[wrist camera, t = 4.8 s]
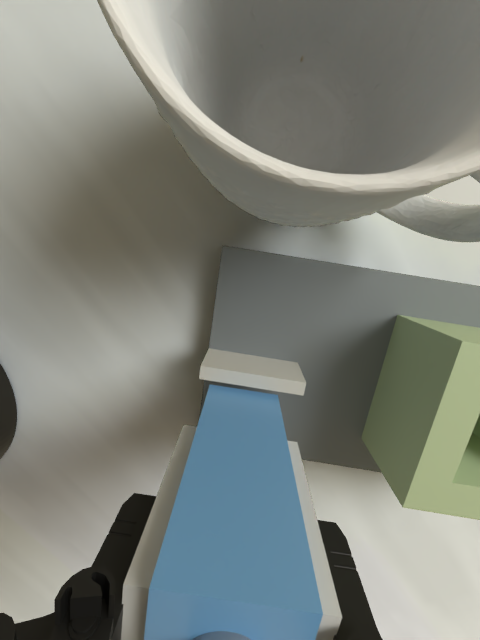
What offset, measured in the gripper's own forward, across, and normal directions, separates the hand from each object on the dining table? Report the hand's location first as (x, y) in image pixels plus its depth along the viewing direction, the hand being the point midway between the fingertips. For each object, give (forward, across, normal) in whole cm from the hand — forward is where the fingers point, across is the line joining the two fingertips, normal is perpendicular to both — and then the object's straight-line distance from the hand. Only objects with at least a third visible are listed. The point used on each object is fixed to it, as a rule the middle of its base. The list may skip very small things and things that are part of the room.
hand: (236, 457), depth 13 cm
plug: (+3, 0, 0) cm, 3 cm away
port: (+6, +13, +3) cm, 15 cm away
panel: (+7, +7, +3) cm, 11 cm away
